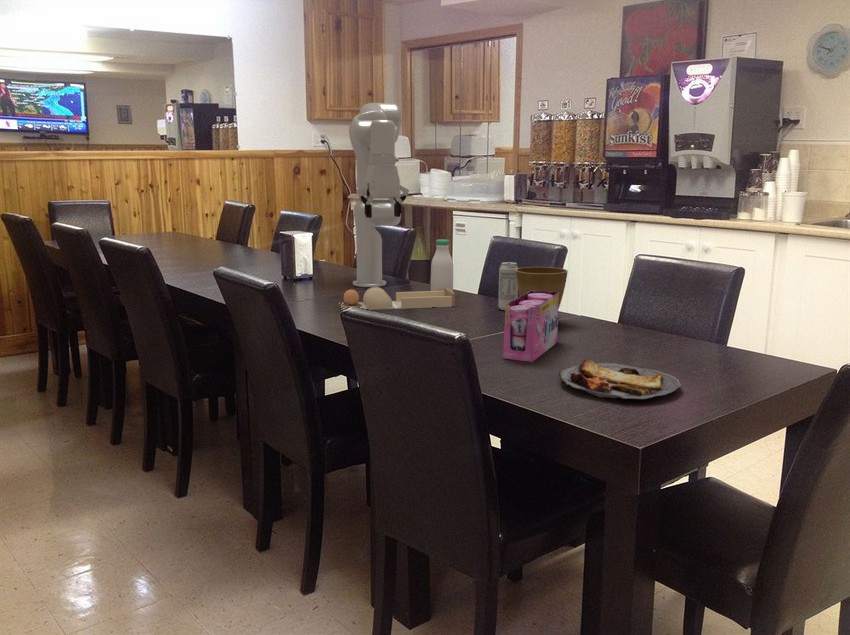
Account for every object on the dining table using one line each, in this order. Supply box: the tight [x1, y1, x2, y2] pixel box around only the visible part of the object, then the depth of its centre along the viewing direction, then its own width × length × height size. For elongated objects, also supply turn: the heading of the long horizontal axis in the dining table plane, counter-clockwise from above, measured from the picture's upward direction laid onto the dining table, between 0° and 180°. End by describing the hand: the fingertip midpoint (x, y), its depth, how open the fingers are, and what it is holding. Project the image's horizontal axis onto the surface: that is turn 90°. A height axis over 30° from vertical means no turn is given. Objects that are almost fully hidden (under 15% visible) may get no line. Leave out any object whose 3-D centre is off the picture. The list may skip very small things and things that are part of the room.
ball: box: [343, 289, 360, 305], centre depth 247 cm, size 5×5×5 cm
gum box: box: [502, 290, 560, 363], centre depth 193 cm, size 24×8×14 cm, turn 156°
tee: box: [340, 300, 362, 308], centre depth 248 cm, size 7×7×1 cm
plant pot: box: [516, 266, 568, 310], centre depth 224 cm, size 15×15×16 cm
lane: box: [338, 287, 456, 311], centre depth 251 cm, size 11×36×8 cm, turn 102°
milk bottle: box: [430, 238, 454, 292], centre depth 263 cm, size 8×8×20 cm
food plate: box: [558, 359, 682, 400], centre depth 165 cm, size 25×23×4 cm
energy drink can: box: [497, 261, 519, 311], centre depth 244 cm, size 6×6×15 cm
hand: (383, 217), depth 240 cm, fingers open, 9 cm apart
